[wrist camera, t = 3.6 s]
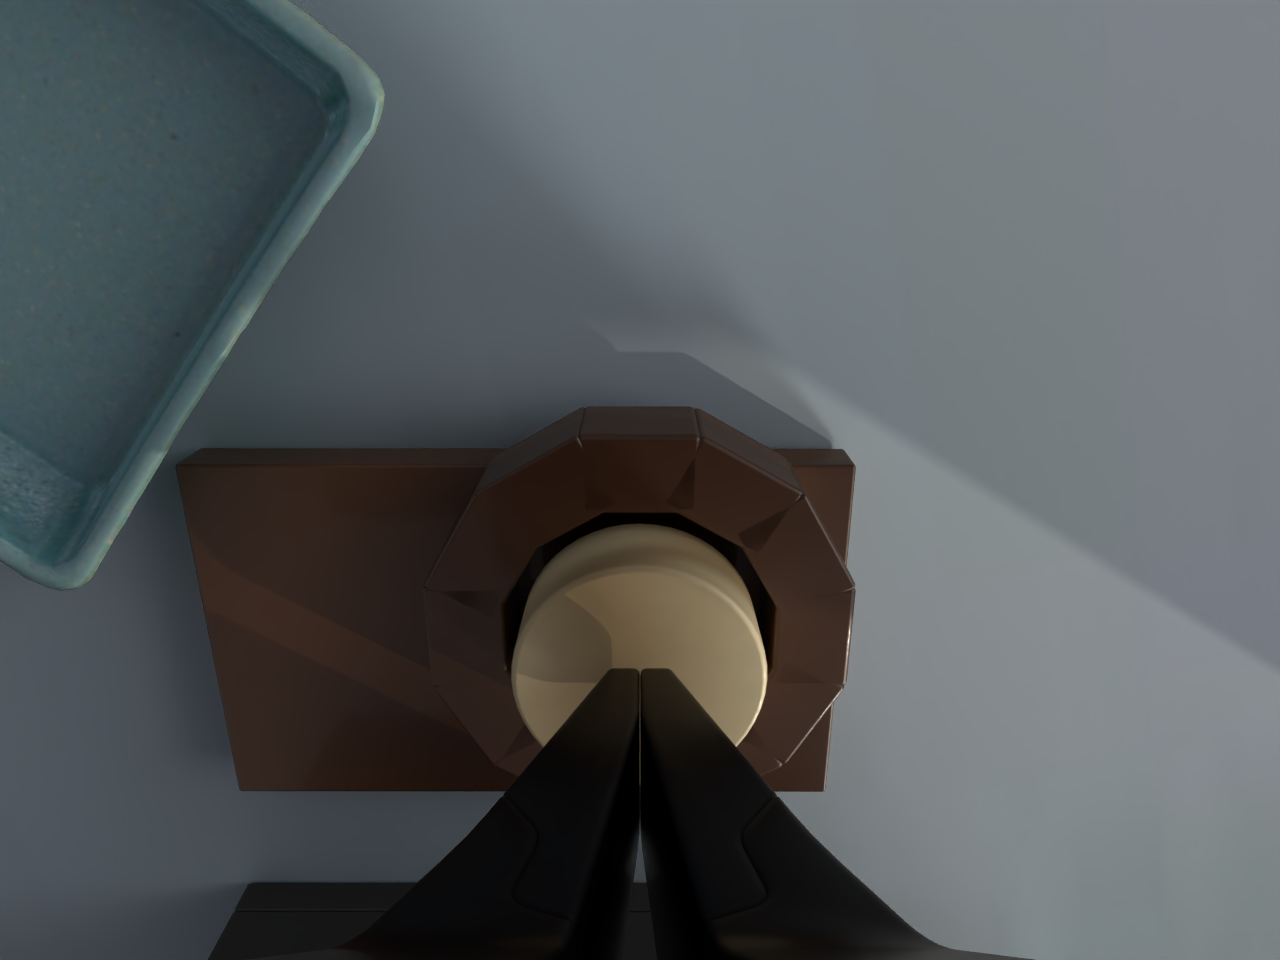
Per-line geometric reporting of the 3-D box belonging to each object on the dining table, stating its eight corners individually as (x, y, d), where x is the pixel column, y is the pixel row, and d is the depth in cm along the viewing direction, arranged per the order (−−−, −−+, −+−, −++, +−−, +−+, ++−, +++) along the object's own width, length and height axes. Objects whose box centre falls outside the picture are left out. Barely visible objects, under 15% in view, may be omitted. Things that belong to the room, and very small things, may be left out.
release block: (849, 391, 14) (890, 436, 12) (816, 761, 17) (845, 858, 15) (190, 390, 14) (101, 434, 12) (258, 760, 17) (196, 857, 14)
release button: (759, 521, 13) (776, 567, 11) (749, 723, 14) (761, 788, 13) (518, 520, 13) (503, 566, 11) (529, 723, 14) (516, 788, 13)
